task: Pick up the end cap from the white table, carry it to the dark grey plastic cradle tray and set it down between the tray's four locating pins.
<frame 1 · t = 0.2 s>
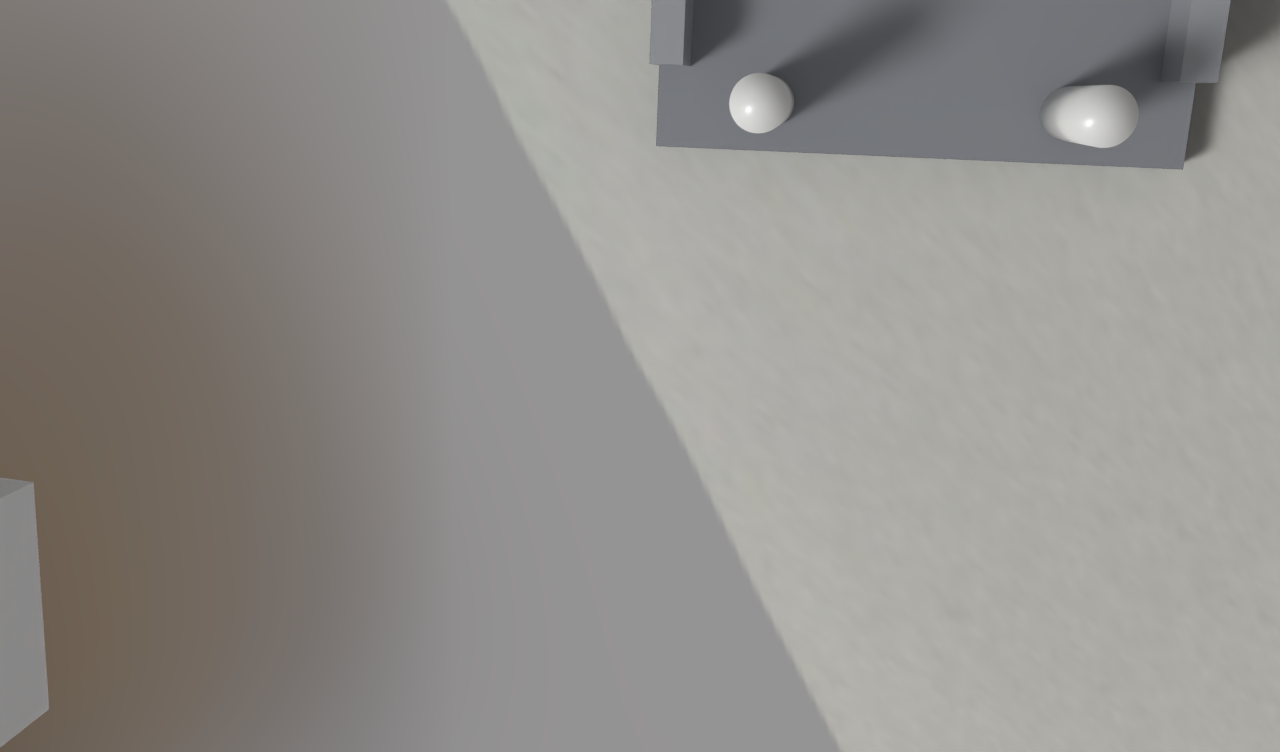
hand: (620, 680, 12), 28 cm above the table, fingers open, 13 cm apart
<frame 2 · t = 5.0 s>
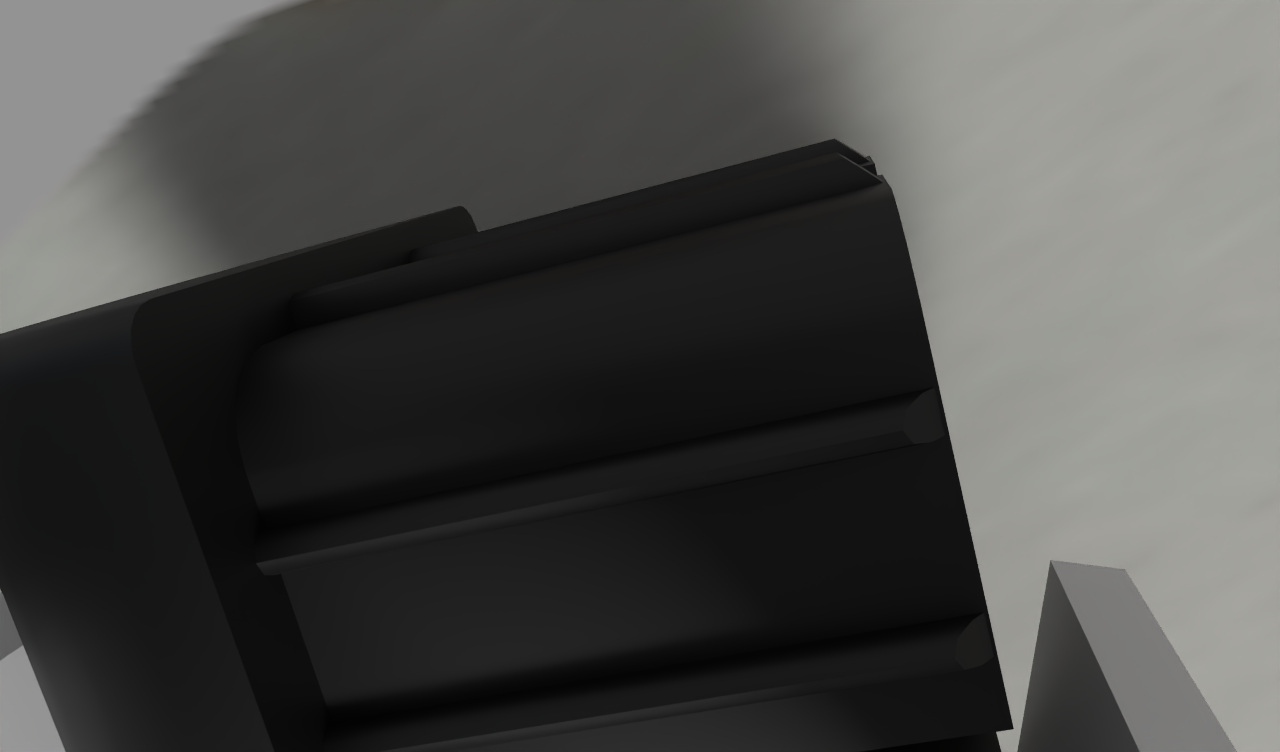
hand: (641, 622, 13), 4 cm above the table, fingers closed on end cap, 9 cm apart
end cap: (648, 598, 14), point 4 cm above the table, touching gripper
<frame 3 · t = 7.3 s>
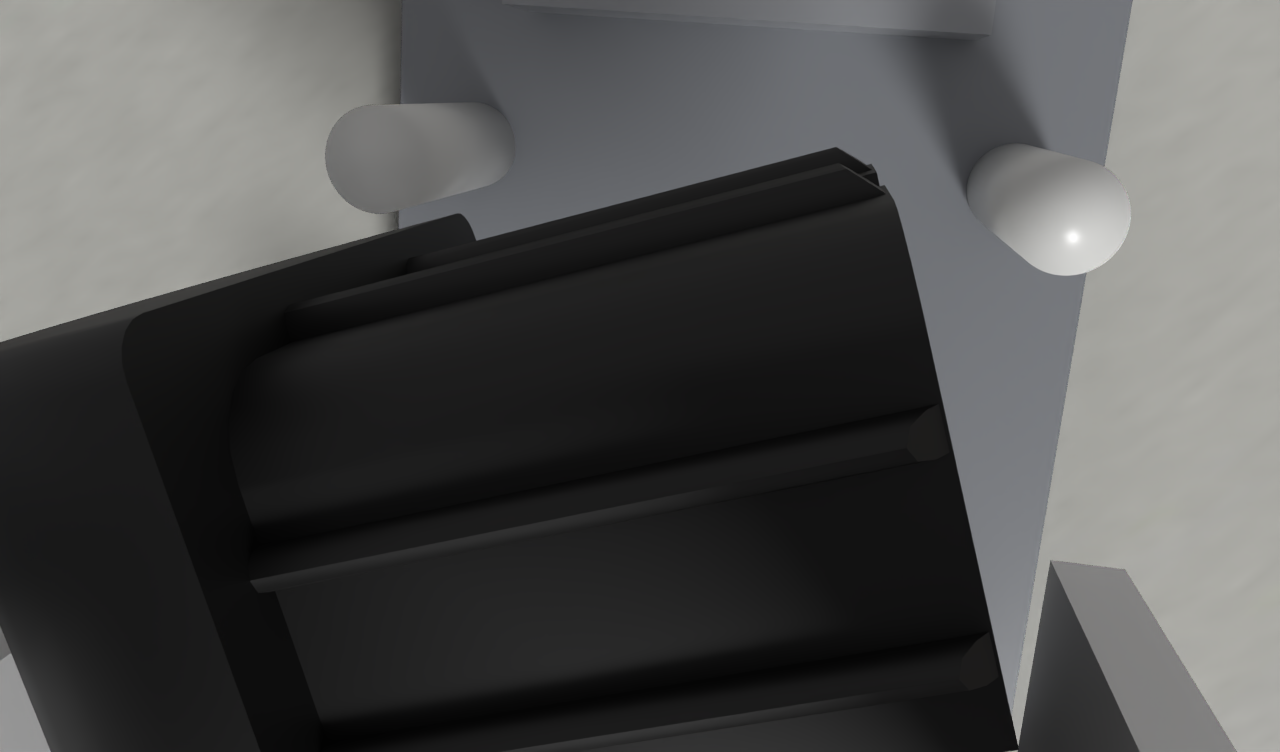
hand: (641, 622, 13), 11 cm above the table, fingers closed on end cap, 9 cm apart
tray: (719, 386, 23), on the table
end cap: (648, 607, 13), point 10 cm above the table, touching gripper
when the fingers open (2 cm above the table, at t = 9.6 s): end cap stays where it is, resting on tray.
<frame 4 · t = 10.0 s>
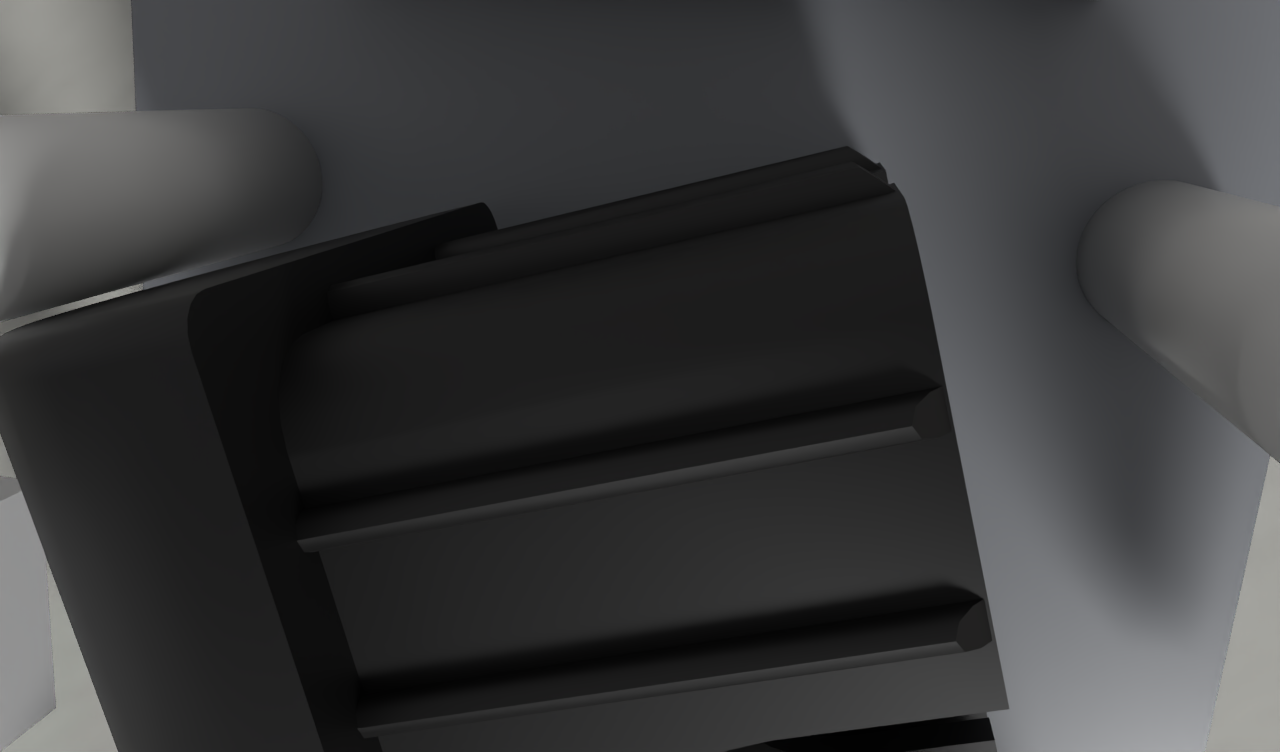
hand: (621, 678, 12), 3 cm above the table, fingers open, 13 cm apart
tray: (664, 557, 15), on the table
end cap: (654, 586, 14), point 1 cm above the table, touching tray
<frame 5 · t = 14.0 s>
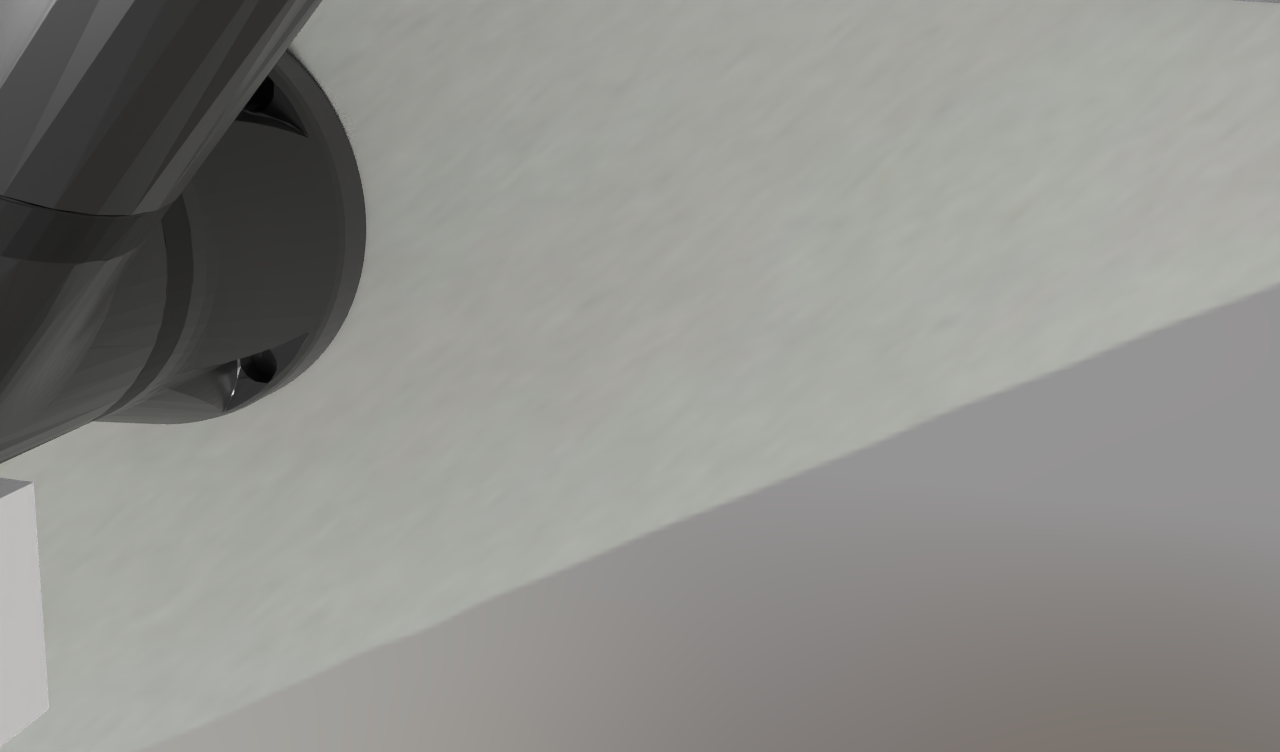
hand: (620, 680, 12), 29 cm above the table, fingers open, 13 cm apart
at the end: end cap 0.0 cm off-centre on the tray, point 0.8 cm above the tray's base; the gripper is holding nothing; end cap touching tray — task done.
